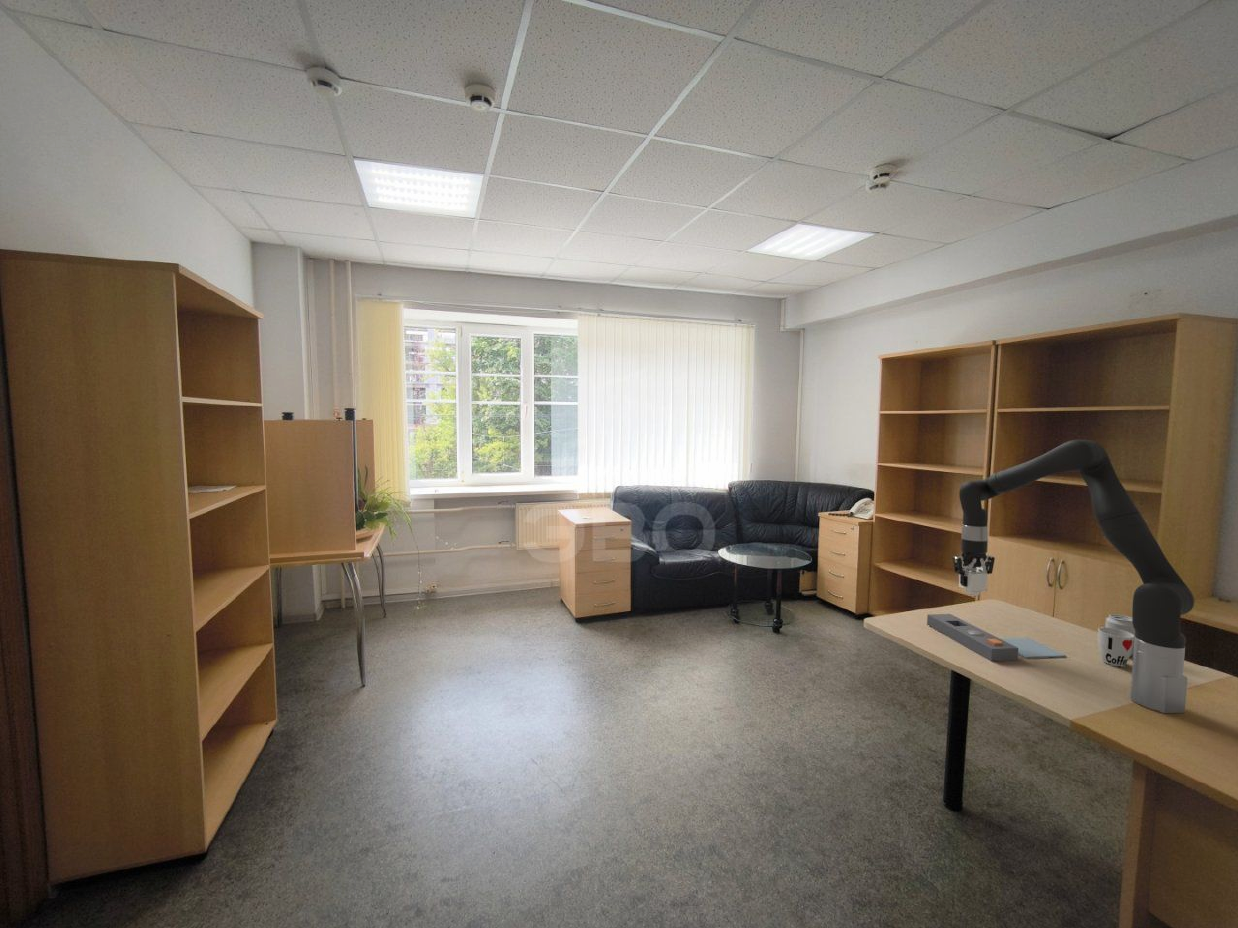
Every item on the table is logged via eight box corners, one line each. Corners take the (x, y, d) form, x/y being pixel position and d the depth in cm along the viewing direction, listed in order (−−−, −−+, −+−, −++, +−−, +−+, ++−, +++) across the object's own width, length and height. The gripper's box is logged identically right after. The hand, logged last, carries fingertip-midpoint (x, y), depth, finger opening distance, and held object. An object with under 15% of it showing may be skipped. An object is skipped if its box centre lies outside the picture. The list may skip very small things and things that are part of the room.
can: (1121, 648, 172) (1124, 613, 171) (1142, 658, 164) (1145, 621, 164) (1097, 647, 173) (1100, 612, 172) (1116, 656, 165) (1119, 620, 164)
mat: (1065, 657, 165) (1066, 655, 165) (1025, 658, 164) (1025, 656, 164) (1028, 639, 179) (1028, 637, 179) (990, 640, 178) (990, 638, 178)
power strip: (1017, 660, 162) (1018, 645, 162) (991, 661, 162) (991, 646, 161) (949, 624, 192) (950, 611, 192) (927, 624, 192) (927, 612, 191)
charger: (986, 596, 176) (987, 569, 176) (971, 596, 176) (971, 569, 175) (973, 591, 182) (974, 564, 182) (958, 591, 182) (959, 565, 181)
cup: (1101, 665, 159) (1103, 634, 158) (1092, 655, 166) (1094, 625, 165) (1136, 671, 155) (1138, 639, 155) (1125, 660, 162) (1127, 630, 162)
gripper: (963, 540, 174) (961, 589, 174) (1002, 539, 175) (1001, 588, 176) (947, 536, 181) (945, 583, 182) (985, 535, 182) (983, 582, 183)
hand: (972, 585), depth 179 cm, fingers closed on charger, 5 cm apart
